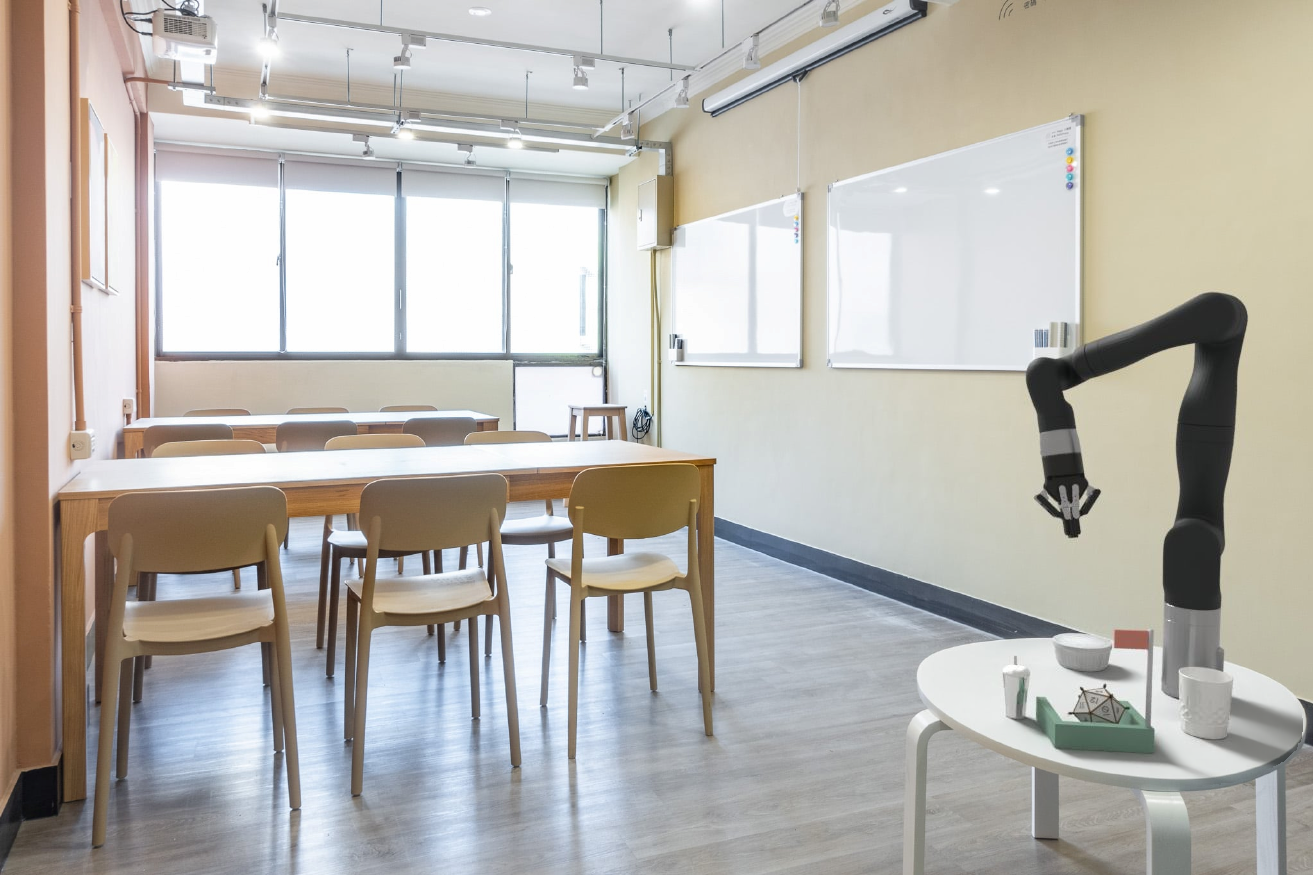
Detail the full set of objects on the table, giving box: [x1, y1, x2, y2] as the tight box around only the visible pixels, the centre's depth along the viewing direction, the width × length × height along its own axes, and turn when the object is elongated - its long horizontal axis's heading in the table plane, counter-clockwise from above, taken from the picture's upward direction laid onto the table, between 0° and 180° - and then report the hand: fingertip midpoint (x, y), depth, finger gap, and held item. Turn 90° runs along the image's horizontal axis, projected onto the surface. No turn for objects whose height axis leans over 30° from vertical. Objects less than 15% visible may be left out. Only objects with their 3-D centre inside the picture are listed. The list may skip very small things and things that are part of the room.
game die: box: [1067, 682, 1130, 724], centre depth 152 cm, size 9×8×10 cm
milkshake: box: [1002, 655, 1031, 720], centre depth 160 cm, size 5×5×10 cm
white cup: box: [1178, 667, 1234, 740], centre depth 152 cm, size 8×8×10 cm
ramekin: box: [1052, 632, 1113, 673], centre depth 187 cm, size 11×11×5 cm
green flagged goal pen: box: [1035, 628, 1156, 755], centre depth 150 cm, size 15×12×20 cm
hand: (1073, 537), depth 182 cm, fingers closed
